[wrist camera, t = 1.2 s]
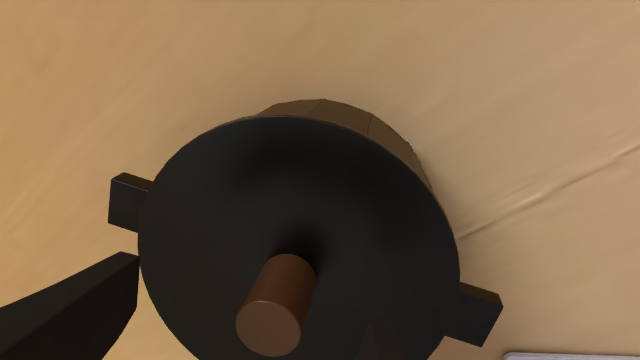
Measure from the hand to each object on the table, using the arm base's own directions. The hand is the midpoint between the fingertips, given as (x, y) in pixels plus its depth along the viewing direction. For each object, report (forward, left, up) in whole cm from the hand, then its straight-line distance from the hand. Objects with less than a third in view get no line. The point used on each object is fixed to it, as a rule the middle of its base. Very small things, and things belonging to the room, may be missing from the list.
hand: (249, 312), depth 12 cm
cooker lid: (-2, 0, -5) cm, 6 cm away
